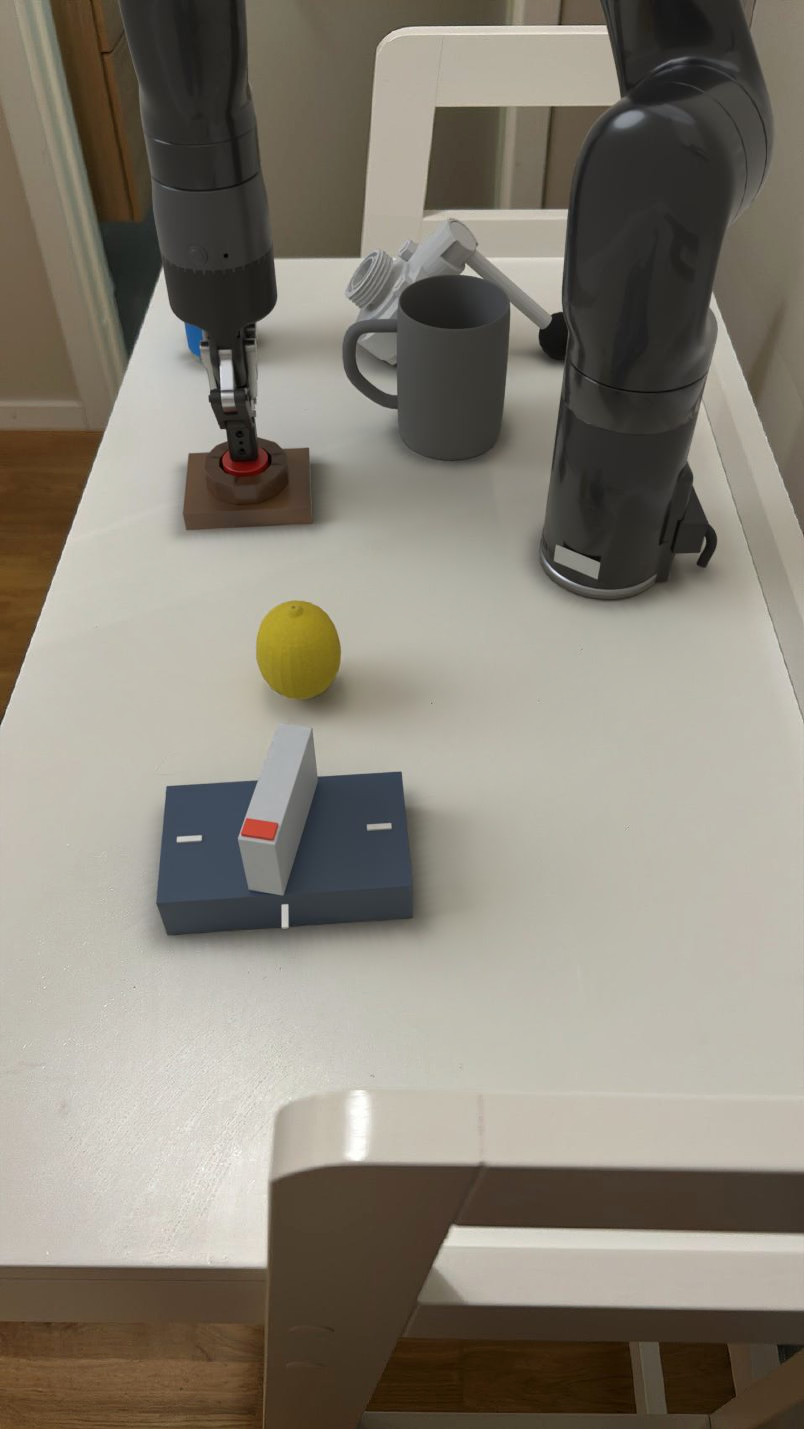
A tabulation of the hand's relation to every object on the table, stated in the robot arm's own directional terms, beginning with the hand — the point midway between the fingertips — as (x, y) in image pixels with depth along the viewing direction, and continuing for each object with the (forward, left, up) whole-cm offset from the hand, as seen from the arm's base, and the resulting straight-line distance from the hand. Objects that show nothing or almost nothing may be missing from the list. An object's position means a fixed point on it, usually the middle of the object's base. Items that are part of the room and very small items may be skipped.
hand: (244, 456), depth 83 cm
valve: (-20, -21, -4) cm, 29 cm away
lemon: (-4, +22, -4) cm, 23 cm away
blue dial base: (-3, +36, -4) cm, 37 cm away
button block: (0, 0, -4) cm, 4 cm away
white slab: (-3, +36, 0) cm, 36 cm away
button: (0, 0, -2) cm, 2 cm away
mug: (-15, -8, -4) cm, 17 cm away
